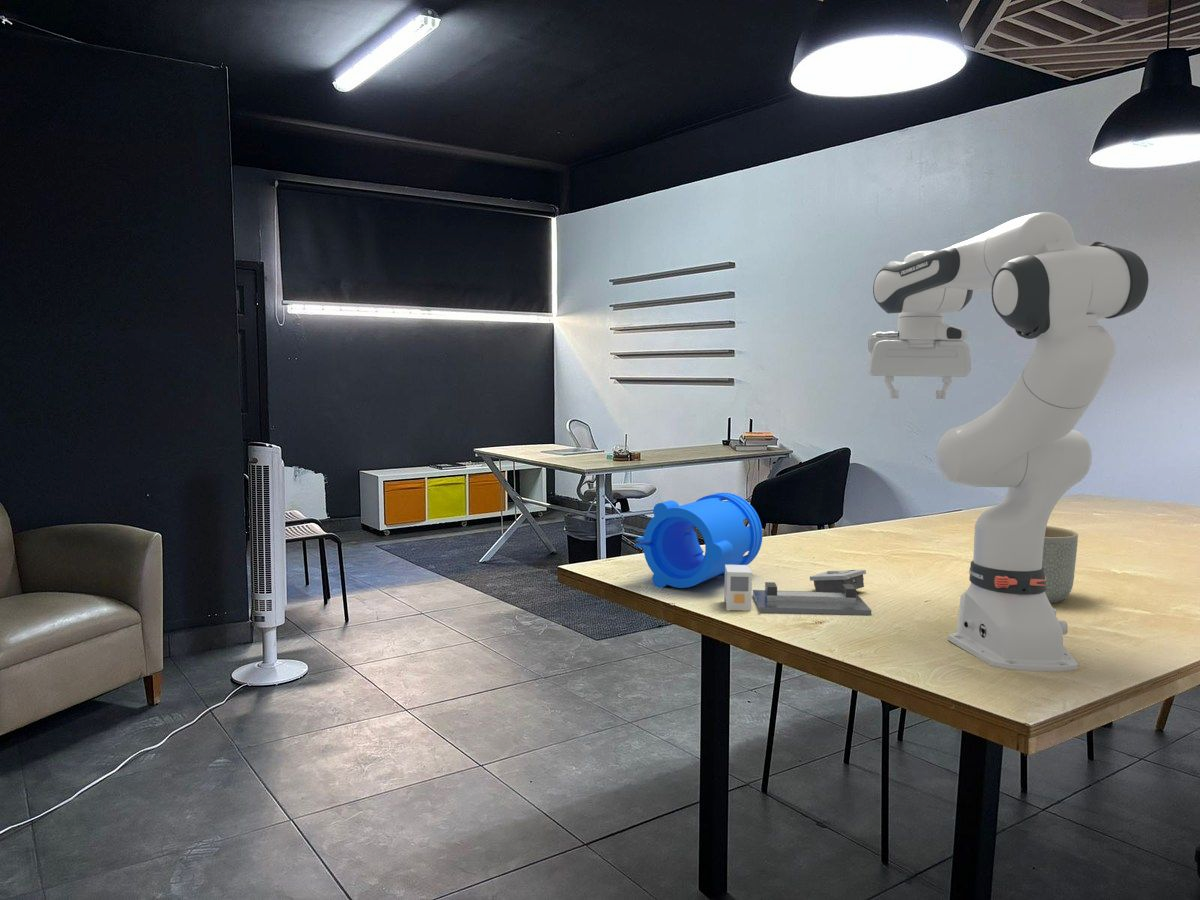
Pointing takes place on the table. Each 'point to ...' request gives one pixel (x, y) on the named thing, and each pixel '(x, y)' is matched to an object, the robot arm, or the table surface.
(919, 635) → the table surface
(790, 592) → the din board
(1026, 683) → the table surface
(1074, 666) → the robot arm
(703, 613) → the table surface
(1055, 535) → the planter
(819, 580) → the electrical switch
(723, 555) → the tube
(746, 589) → the din module
